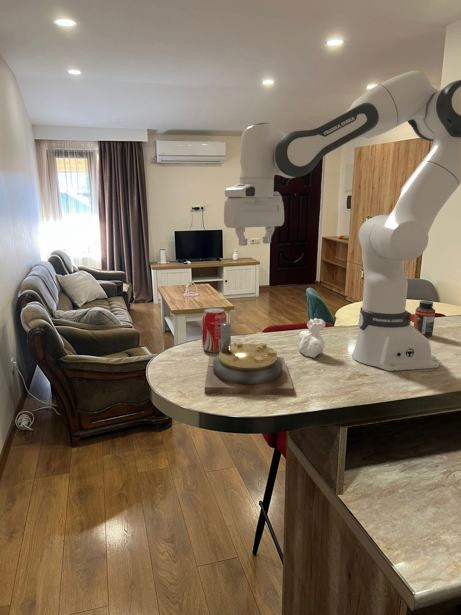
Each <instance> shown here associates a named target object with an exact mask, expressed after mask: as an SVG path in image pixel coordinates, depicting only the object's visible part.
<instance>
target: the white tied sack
mask: <svg viewBox="0 0 461 615" xmlns="http://www.w3.org/2000/svg"><path fill="white" fill-rule="evenodd" d="M306 326H307V328H308V330H302V331H300V333H299V335H298V336H297V338H296V344H297V345H296V346H297V349H298V352H299V353H301V354H302V355H303V356H305V357H310V358H313V359H314V358H316V357H317V356H318V355H320V354H322V353H323V352H324V348H325V347H326V345H325V340H324V338H323V336H322V335H321V332H323V331H324V329H325V327H326V322H325V321H324V319H322V318H317V317H314V319H312V318H310V319H309V321H308V322H307V324H306Z"/></svg>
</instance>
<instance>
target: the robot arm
mask: <svg viewBox="0 0 461 615" xmlns="http://www.w3.org/2000/svg"><path fill="white" fill-rule="evenodd" d="M405 123H408V124H409V126H411V127H412V130H413V131H414V133H415V135H416V136H418V137H419V138H420V139H422V140H424V141H426V142H427V141H429V142H432V144H431V145H432V146H431V147H430V150H429V152H428V153H427V154H426V156H425V157H424V158H423V159H422V161H421V162H420V163H419V164H418V166H417V167H416V168H415V169H414V171H413V172H412V173H411V175H409V177H408V179H407V180H406V181H405V182H404V184H403V185H402V186H401V188H400V195H399V197H398V199H397V202H396V204H395V206H394V207H393V209H392V210H391V212H390V213H389V214H387V215H385V214H378V215H375V216H373V217H371V218H369V219H367V220H365V221H364V222H363V223H362V225H361V226H360V228H359V230H358V240H359V244H360V246H361V258H362V266H363V294H362V304H361V307H360V309H359V310H360V311H359V315H358V316H359V317H358V327H359V330H358V335H357V338H356V339H357V340H356V343H355V346H354V349H353V351H352V353H351V357H352V358H353V360H355V361H357V362H359V363H361V364H364V365H368V366H372V367H376V368H378V369H382V370H385V371H387V372H388V371H390V372H392V371H394V370H395V371H407V370H422V369H437V368H439V367H440V361H439V359H438V358H437V357H436V356H435V355H434V354H432V348H431V343H430V341H429V339H428V337H425V336H424V335H422V334H421V333H420V332H419V331H418V330H417V329H415V328H414V325H412V324H411V323H413V324H414V323H415V322H417V321H418V320H417V319H418V318H419V317H417V315H415V313H411V312H409V311H408V310H406V306H407V296H408V295H407V294H408V287H409V282H408V278H407V276H406V273H405V268H404V262H405V261H406V262H407V261H412V260H415V259H416V258H419V257H420V256H421V255H422V254H424V252H425V251H426V249H427V246H428V244H429V233H430V229H431V228H432V226H433V224H434V221H435V219H436V218H437V215H438V214H439V212H440V211H441V209H442V208H443V207H444V205H445V204H446V203H447V202H448V200H449V199H450V198H451V196H452V195H453V194H454V193H455V191H456V190H458V187H459V186H460V185H461V79H458V80H455V81H452V82H450V83H448V84H447V85H446V86H444V87H442V88H440V89H439V90H438V89H437V88H435V87H434V86H433V85H432V83H431V80H430V79H429V77H428V76H427V75H426V74H425V73H424V72H422V71H420V70H411V71H407V72H404V73H401V74H398V75H396V76H393V77H390V78H389V79H387V80H385V81H383V82H381V83H379V84H377V85H375V86H374V87H372V88H370V89H369V90H367V91H366V92H365V93H363V94H361V95H360V96H359V97H357V98H356V99H355V100H354V101H353V102H352V104H351V105H350V107H349V108H348V109H347V110H346V111H345V112H343V113H342V114H340V115H338V116H336V117H334V118H332V119H330V120H328V121H327V122H325V123H323V124H322V125H319V126H317V127H315V128H313V129H308V130H307V129H306V130H295V131H291V132H289V133H287V134H286V133H285V132H283V131H282V130H280V129H278V128H277V127H275V126H274V124H273V123H271V122H258V123H255V124H252V125H248V126H247V127H246V128H245V129H244V130H243V132H242V133H241V134H242V135H241V138H240V149H239V150H240V151H239V164H240V174H239V183H236V184H234V185H232V186H229V187H227V188H226V189H224V196H225V197H226V199H225V201H224V205H223V223H224V225H225V227H226V229H227V228H231V229H235V234H236V236H237V238H238V246H240V247H241V246H242V247H244V246H247V245H248V238H246V236H245V232H246V228H263V227H264V228H265V229H264V230H265V234H264V236H263V237H262V244H265V245H266V244H269V245H270V244H271V243H272V236H273V234H274V232H275V227H282V226H283V225H284V223H285V209H284V208H285V206H284V202H283V196H282V195H281V193H280V192H279V191H274V190H275V189H274V187H275V186H274V185H275V181H274V180H275V176H280V177H283V178H285V179H293V178H301V177H305V176H306V175H308V174H309V173H311V172H312V171H313V170H314V168H316V167H317V165H318V164H319V162H320V161H321V160H322V159H323V157H326V155H328V154H329V153H332V151H335V150H337V149H339V148H340V147H342V146H344V145H345V144H347V143H349V142H351V141H354V140H356V139H359V138H363V139H370V138H374V137H376V136H379V135H382V134H385V133H387V132H389V131H392V130H393V129H395V128H397V127H399V126H401V125H402V124H405Z"/></svg>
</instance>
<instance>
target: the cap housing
mask: <svg viewBox="0 0 461 615" xmlns="http://www.w3.org/2000/svg"><path fill="white" fill-rule="evenodd" d="M205 376H206V377H205V382H204V394H219V395H220V394H221V395H222V394H225V395H226V394H230V395H294V394H295V393H294V392H295V390H294V389H295V387H294V385H293V381H292V379H291V376H290V374H289V371H288V367H287V365H286V361H285V357H282V356H280V357H278V356H277V362H276V365H275V366H273V367H272V368H269V369H266V370H261V371H238V370H233V369H229V368H227V367H225V366H223V365H222V364H221V363H220V362H219V354H218V355H217V356H208V361H207V369H206V375H205Z"/></svg>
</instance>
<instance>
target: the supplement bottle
mask: <svg viewBox="0 0 461 615" xmlns="http://www.w3.org/2000/svg"><path fill="white" fill-rule="evenodd" d="M433 307H434V302H433V301H429V300H420V301H419V306H417V307H416V308H415V313H414V314H415V315H417V317H419V318H418V319H417V320H418V321H417V322H415V323H414V322H413V327H414V328H415V329H417V330H418V331H419V332H420V333H421V334H422V335H424V336H425V337H426V338H431V337H432V336H433V334H434V325H435V316H436V310H435V308H433Z"/></svg>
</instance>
